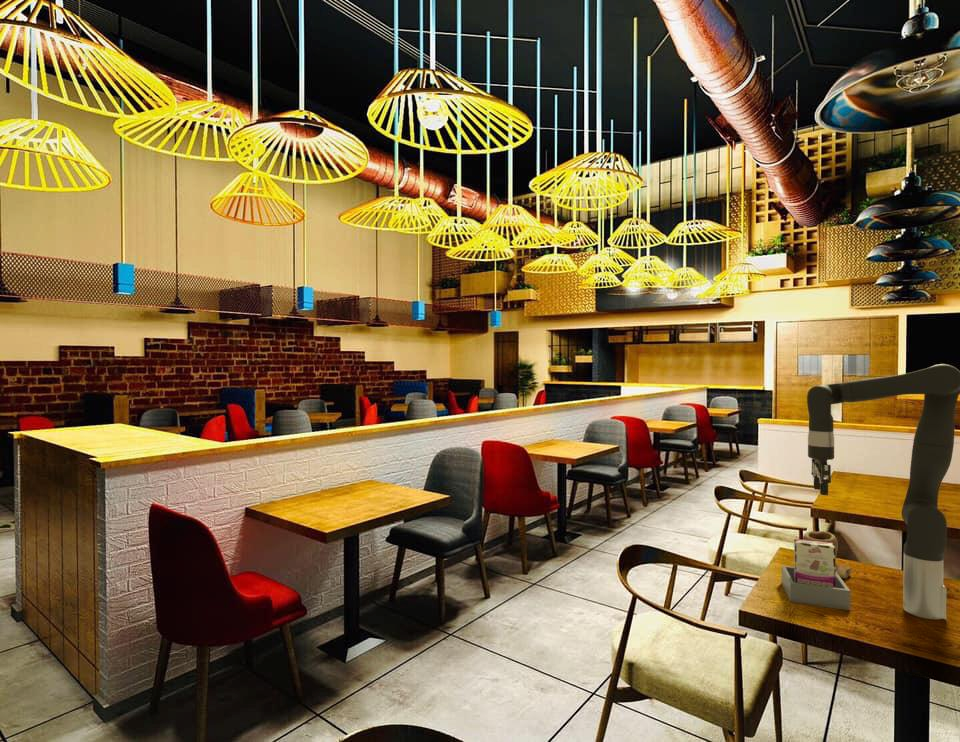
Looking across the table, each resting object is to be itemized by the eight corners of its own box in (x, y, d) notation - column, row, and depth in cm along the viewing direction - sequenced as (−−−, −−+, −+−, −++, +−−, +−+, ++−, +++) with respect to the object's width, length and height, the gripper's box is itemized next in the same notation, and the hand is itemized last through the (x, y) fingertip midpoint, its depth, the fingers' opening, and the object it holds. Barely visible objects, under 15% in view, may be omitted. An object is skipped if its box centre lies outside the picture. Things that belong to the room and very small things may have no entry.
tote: (836, 589, 177) (836, 571, 177) (850, 610, 162) (850, 590, 162) (781, 582, 183) (781, 565, 183) (790, 602, 168) (790, 583, 168)
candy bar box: (833, 593, 172) (833, 542, 172) (835, 599, 168) (836, 547, 167) (793, 586, 177) (793, 537, 177) (794, 592, 173) (795, 542, 172)
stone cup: (799, 575, 190) (799, 533, 190) (802, 565, 199) (802, 525, 199) (850, 585, 181) (851, 541, 181) (851, 574, 191) (852, 532, 190)
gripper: (840, 447, 172) (839, 498, 172) (828, 441, 185) (827, 488, 185) (813, 446, 174) (813, 496, 174) (803, 440, 188) (803, 486, 188)
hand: (820, 492), depth 180 cm, fingers open, 8 cm apart
